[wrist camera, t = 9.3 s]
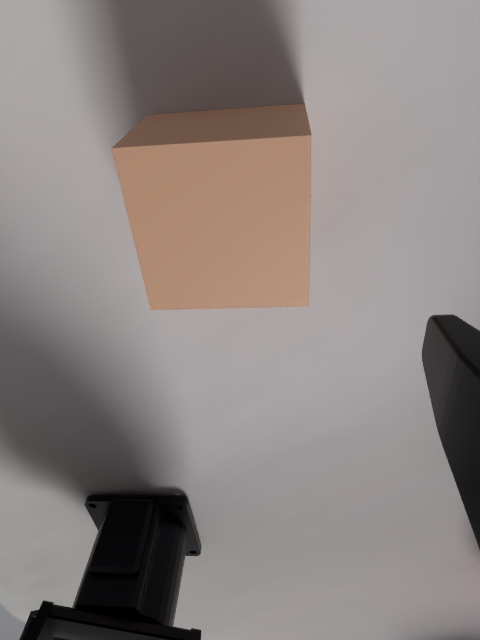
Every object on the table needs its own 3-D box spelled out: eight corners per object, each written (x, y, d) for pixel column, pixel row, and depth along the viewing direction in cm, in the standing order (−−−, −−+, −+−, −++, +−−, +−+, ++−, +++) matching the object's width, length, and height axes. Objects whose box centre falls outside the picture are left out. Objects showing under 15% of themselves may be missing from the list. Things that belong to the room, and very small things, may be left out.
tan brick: (303, 246, 17) (309, 306, 14) (174, 251, 17) (150, 309, 14) (304, 102, 14) (311, 135, 11) (149, 113, 14) (111, 148, 11)
